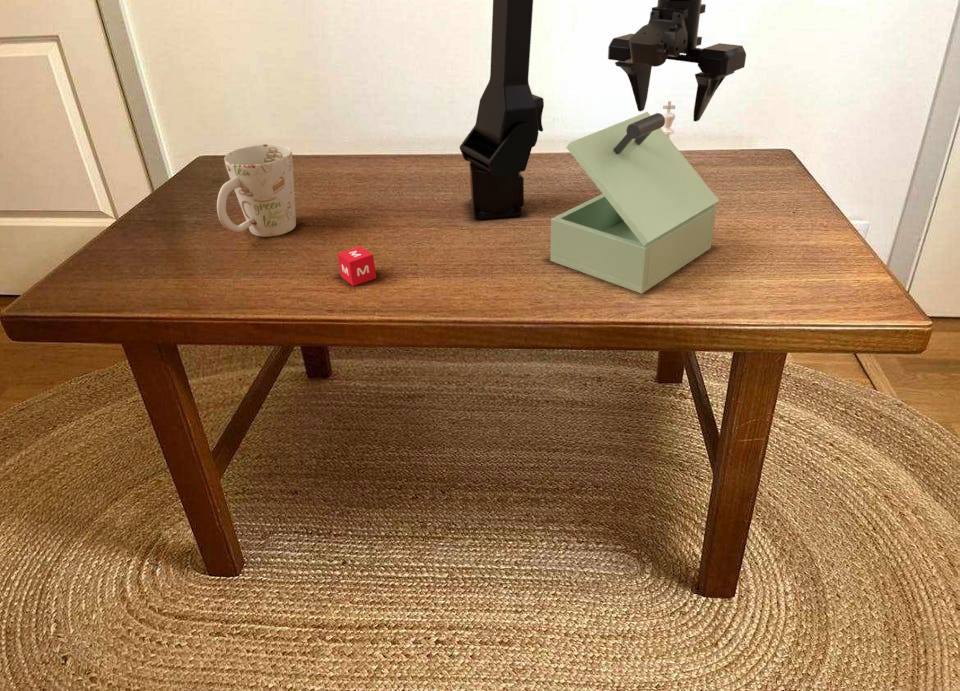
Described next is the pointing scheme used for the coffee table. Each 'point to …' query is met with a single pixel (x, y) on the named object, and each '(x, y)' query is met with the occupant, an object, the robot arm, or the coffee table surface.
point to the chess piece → (668, 119)
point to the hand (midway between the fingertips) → (668, 115)
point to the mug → (260, 189)
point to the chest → (624, 245)
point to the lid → (643, 176)
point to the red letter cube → (356, 265)
